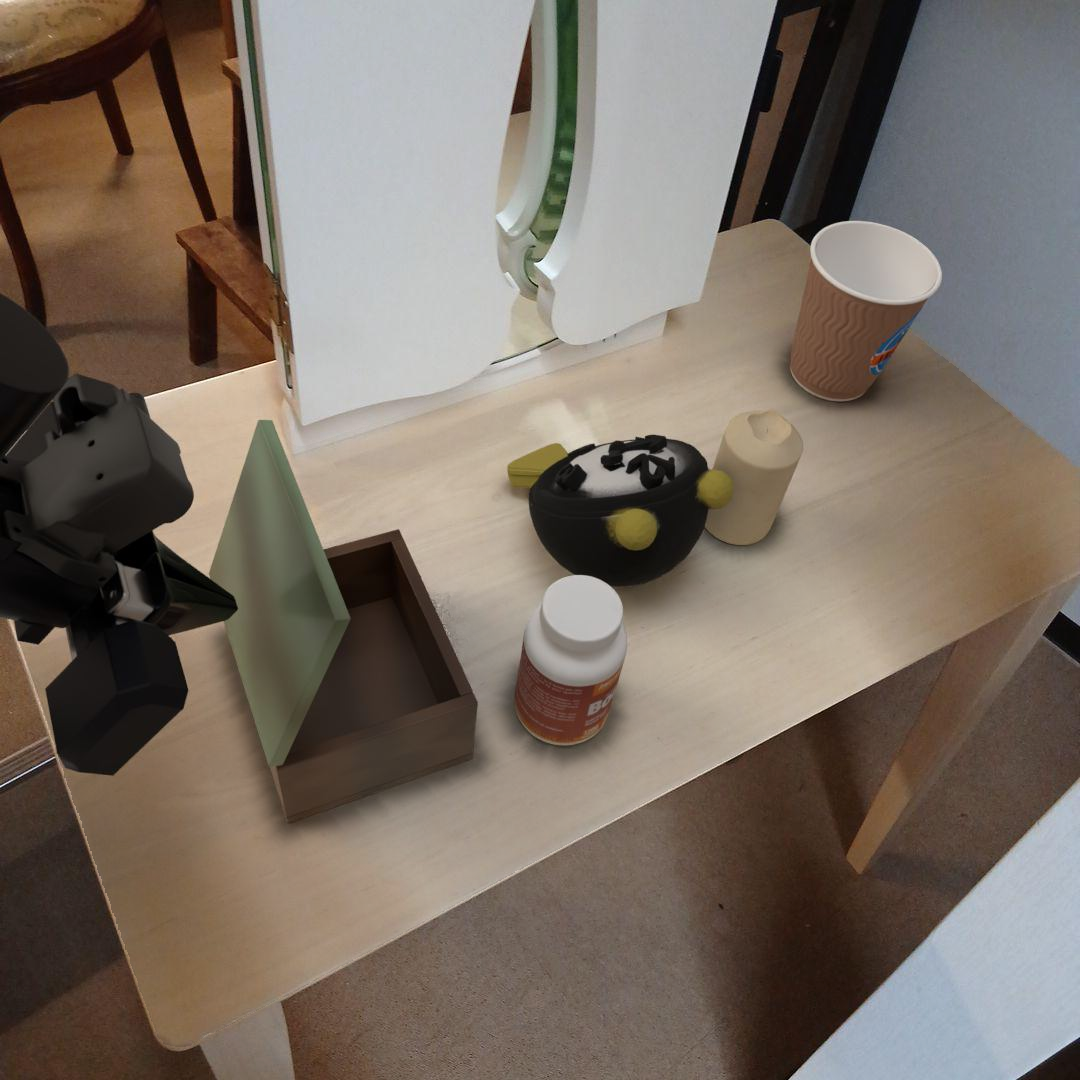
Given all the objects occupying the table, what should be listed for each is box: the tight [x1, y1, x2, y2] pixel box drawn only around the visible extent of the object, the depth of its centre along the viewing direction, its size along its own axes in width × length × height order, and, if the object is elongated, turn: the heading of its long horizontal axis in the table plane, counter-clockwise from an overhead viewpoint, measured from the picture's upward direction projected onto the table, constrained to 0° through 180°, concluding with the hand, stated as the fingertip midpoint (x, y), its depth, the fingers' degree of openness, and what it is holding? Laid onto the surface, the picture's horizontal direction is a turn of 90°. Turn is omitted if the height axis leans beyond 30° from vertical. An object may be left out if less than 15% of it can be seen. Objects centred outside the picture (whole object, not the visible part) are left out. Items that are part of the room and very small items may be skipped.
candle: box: [704, 409, 804, 546], centre depth 77 cm, size 6×6×10 cm
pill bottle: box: [514, 574, 628, 746], centre depth 65 cm, size 6×6×11 cm
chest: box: [269, 528, 479, 824], centre depth 65 cm, size 12×14×7 cm
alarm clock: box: [506, 434, 734, 588], centre depth 74 cm, size 12×15×15 cm
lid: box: [208, 419, 350, 768], centre depth 56 cm, size 12×14×1 cm
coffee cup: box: [789, 220, 943, 402], centre depth 87 cm, size 10×10×12 cm
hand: (231, 608), depth 56 cm, fingers closed
